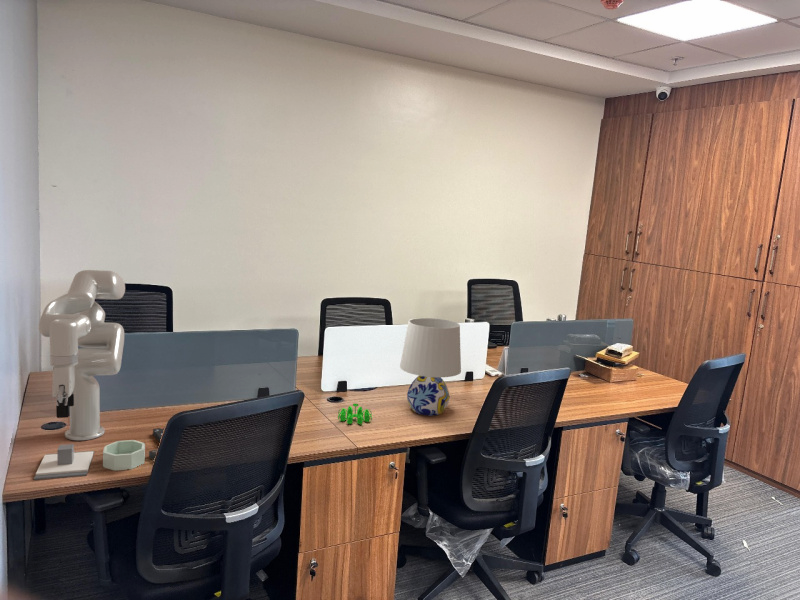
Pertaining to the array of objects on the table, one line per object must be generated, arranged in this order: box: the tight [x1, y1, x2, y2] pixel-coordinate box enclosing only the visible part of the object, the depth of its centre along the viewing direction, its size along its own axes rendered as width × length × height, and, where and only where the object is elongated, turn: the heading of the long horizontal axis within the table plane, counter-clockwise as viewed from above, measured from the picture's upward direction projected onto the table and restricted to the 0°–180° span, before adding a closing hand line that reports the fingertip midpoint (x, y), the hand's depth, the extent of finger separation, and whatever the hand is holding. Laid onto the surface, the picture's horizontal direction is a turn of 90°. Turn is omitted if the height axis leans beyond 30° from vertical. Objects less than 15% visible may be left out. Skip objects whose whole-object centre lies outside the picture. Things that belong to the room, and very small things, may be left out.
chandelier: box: [337, 403, 373, 426], centre depth 245 cm, size 15×15×7 cm
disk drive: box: [152, 427, 165, 443], centre depth 213 cm, size 10×3×15 cm
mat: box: [33, 450, 95, 481], centre depth 187 cm, size 18×14×1 cm
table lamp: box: [399, 317, 462, 417], centre depth 261 cm, size 27×27×40 cm
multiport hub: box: [148, 449, 157, 461], centre depth 195 cm, size 4×11×2 cm, turn 47°
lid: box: [35, 443, 94, 476], centre depth 186 cm, size 14×14×6 cm
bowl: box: [102, 439, 146, 472], centre depth 192 cm, size 12×12×5 cm
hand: (65, 411), depth 185 cm, fingers open, 9 cm apart
